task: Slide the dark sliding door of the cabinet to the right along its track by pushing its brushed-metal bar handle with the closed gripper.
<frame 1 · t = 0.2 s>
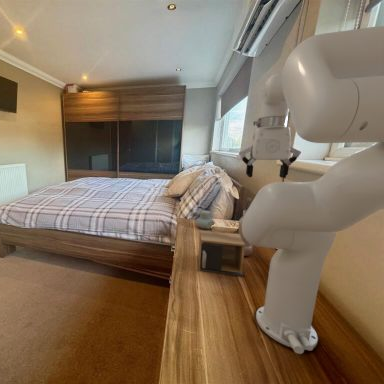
hand: (265, 177, 68), 37 cm above the table, tool pointing down, fingers open, 9 cm apart
cabinet: (218, 264, 82), on the table
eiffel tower: (245, 236, 109), on the table
sliding door: (211, 259, 75), point 6 cm above the table, slide at 0.0 cm
plastic bottle: (243, 254, 90), on the table
air freshener: (204, 227, 122), on the table
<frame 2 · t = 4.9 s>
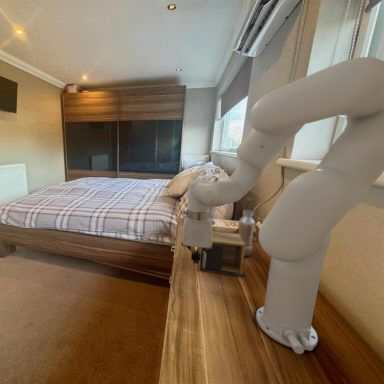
hand: (195, 261, 75), 5 cm above the table, tool pointing down, fingers closed
sliding door: (211, 259, 75), point 6 cm above the table, slide at 0.0 cm, touching gripper
everything else where it was.
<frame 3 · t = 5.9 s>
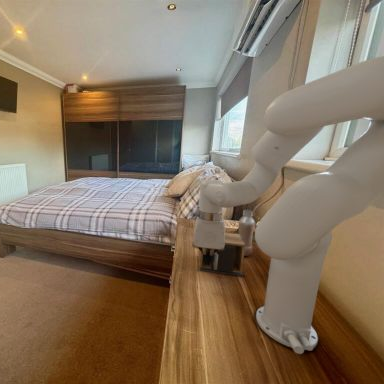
hand: (206, 263, 74), 5 cm above the table, tool pointing down, fingers closed
sliding door: (223, 260, 74), point 6 cm above the table, slide at 4.0 cm, touching gripper
everything else where it was.
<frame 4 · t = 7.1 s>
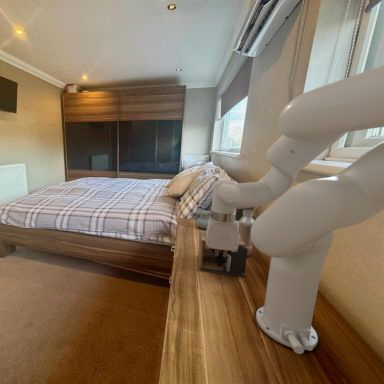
hand: (219, 264, 73), 5 cm above the table, tool pointing down, fingers closed
sliding door: (236, 262, 73), point 6 cm above the table, slide at 8.1 cm, touching gripper
everything else where it was.
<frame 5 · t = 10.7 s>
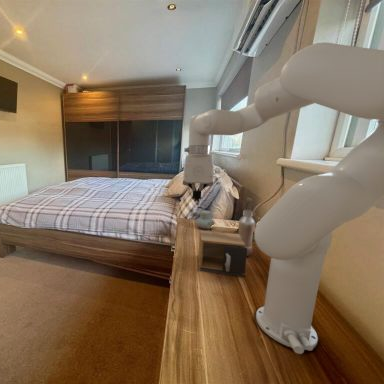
hand: (196, 200, 76), 27 cm above the table, tool pointing down, fingers closed
sliding door: (235, 262, 73), point 6 cm above the table, slide at 8.0 cm
everything else where it was.
at the end: sliding door slide at 8.0 cm; the gripper is holding nothing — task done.
